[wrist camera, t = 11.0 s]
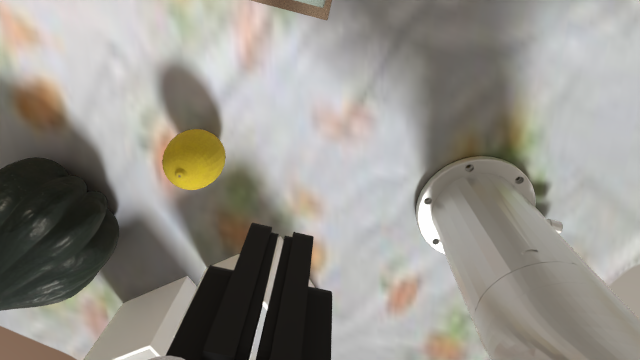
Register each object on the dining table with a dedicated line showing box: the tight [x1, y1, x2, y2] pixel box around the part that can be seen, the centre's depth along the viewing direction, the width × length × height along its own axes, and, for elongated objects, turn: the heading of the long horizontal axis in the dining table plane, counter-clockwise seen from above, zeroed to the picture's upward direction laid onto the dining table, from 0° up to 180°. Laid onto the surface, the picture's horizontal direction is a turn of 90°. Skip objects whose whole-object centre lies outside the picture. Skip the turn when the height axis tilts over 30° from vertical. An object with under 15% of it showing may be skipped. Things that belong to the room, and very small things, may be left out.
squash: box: [0, 158, 119, 311], centre depth 39 cm, size 14×15×15 cm
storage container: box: [84, 236, 315, 360], centre depth 45 cm, size 25×11×11 cm, turn 118°
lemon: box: [162, 129, 226, 190], centre depth 36 cm, size 6×6×8 cm
